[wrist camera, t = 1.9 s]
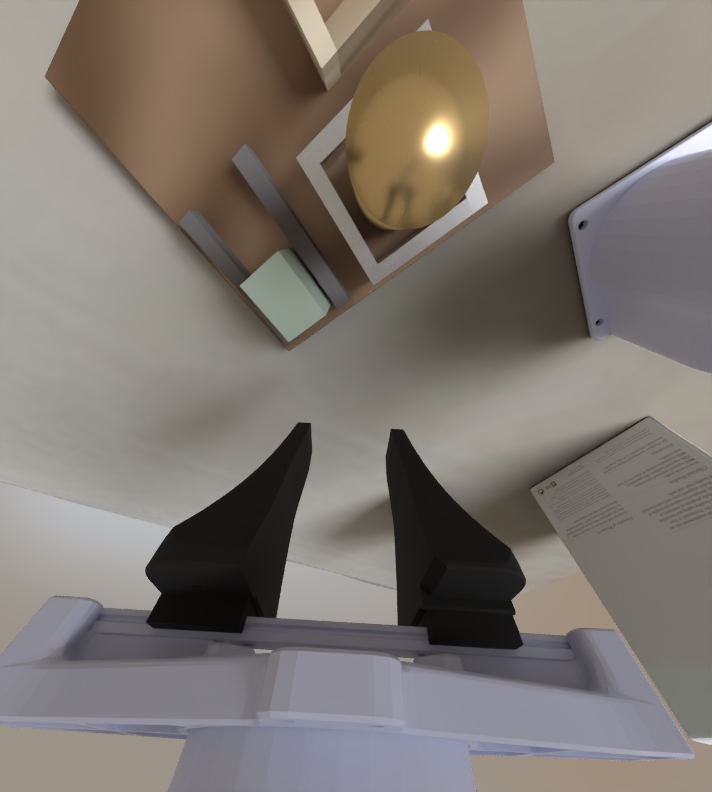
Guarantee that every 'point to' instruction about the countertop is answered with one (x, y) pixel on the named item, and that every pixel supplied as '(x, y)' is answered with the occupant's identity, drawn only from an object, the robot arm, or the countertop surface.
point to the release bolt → (287, 293)
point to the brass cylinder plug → (416, 131)
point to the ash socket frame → (340, 31)
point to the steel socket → (315, 165)
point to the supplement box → (647, 554)
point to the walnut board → (274, 123)
